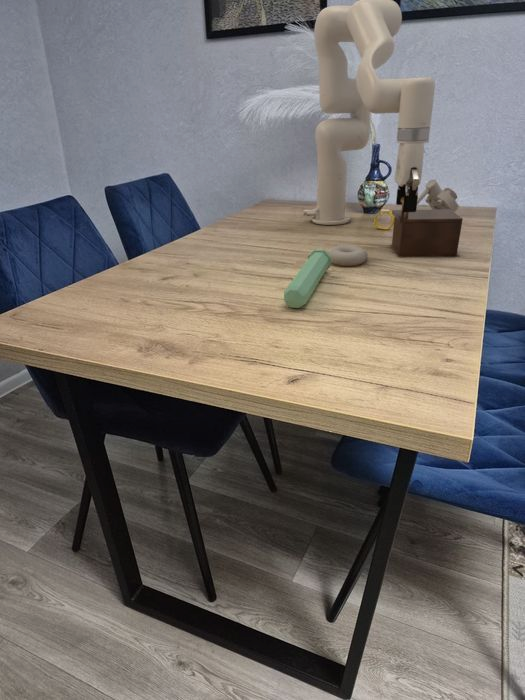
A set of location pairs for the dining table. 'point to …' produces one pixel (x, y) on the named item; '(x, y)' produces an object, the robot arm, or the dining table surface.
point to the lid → (426, 215)
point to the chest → (426, 238)
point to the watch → (384, 212)
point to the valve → (439, 197)
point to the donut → (347, 255)
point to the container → (307, 279)
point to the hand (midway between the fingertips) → (405, 208)
